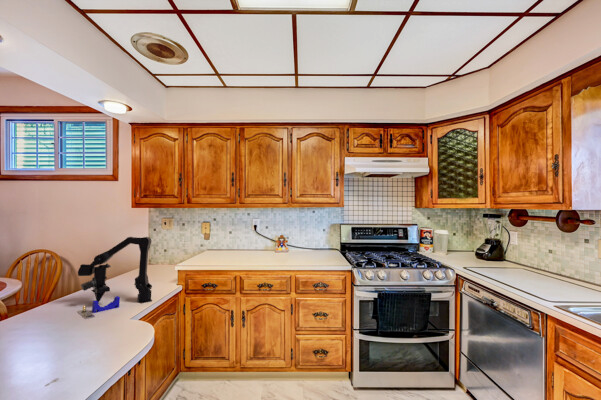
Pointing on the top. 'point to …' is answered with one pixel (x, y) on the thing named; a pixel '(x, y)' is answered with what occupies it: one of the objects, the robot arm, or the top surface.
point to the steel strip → (85, 313)
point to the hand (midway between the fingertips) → (97, 302)
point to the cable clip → (111, 305)
